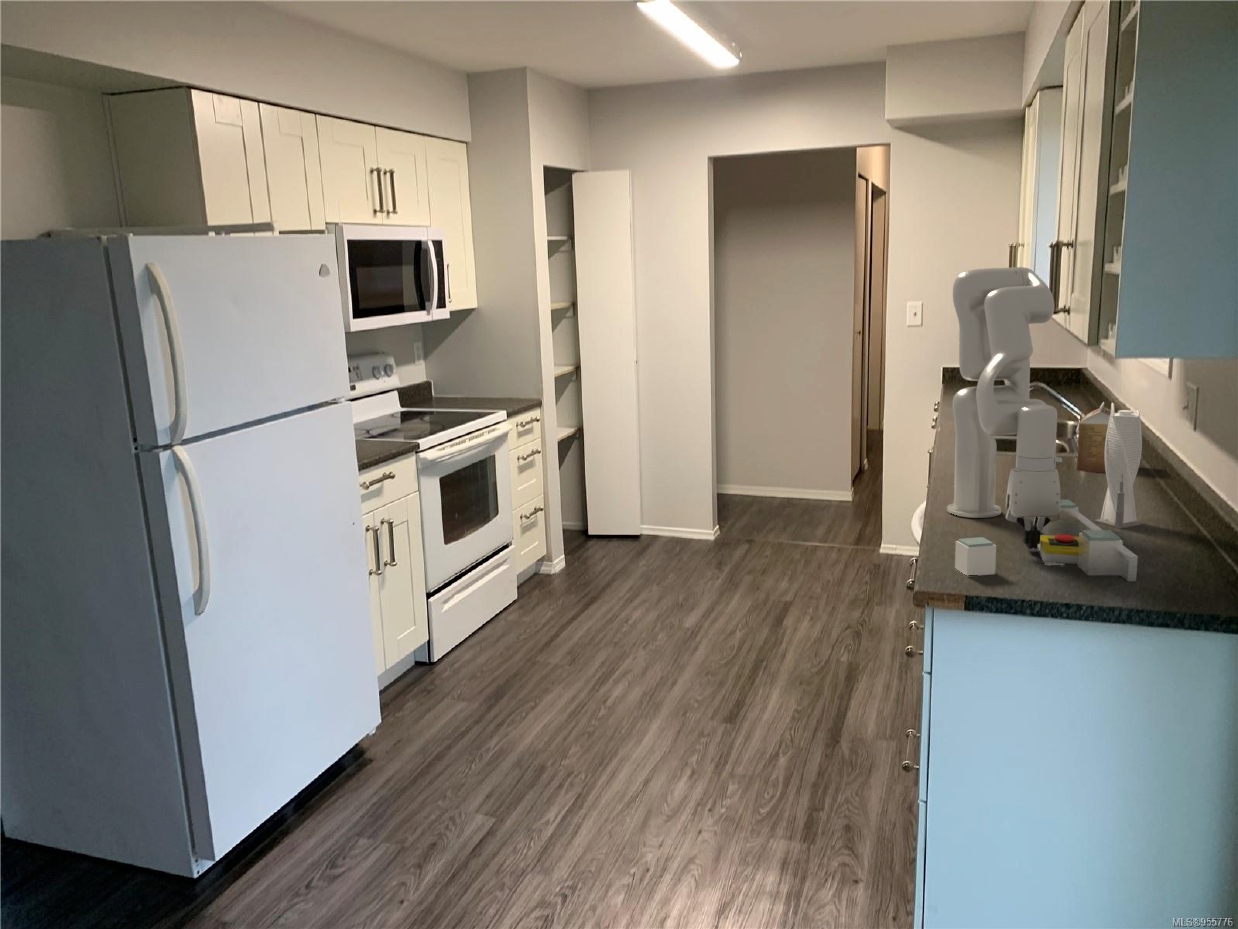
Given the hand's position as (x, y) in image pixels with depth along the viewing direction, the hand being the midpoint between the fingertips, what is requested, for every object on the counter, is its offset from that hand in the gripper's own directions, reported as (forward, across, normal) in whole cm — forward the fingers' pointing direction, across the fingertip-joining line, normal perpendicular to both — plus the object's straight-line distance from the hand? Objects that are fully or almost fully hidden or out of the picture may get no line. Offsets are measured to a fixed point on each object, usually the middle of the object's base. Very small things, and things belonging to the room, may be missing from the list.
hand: (1031, 546), depth 194 cm
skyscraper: (+1, -25, -23) cm, 34 cm away
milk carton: (+2, -41, -82) cm, 92 cm away
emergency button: (+2, -6, +2) cm, 7 cm away
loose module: (+1, +14, +13) cm, 20 cm away
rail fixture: (+1, -10, 0) cm, 10 cm away
